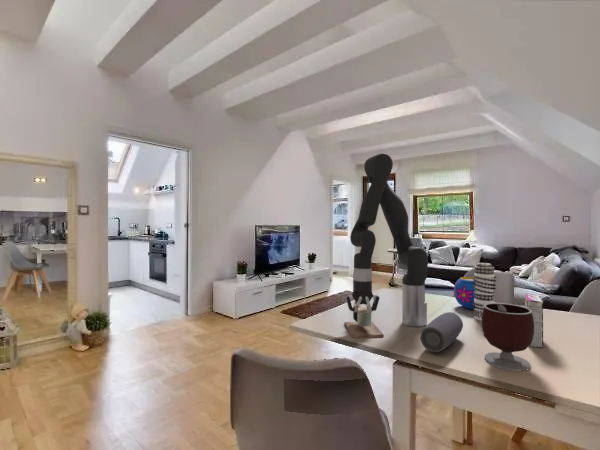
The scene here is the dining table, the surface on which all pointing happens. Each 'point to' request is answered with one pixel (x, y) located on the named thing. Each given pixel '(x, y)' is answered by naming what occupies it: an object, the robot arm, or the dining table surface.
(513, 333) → the mate gourd
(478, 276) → the decorative candle
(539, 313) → the candy bar box
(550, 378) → the dining table surface
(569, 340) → the dining table surface
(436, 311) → the dining table surface
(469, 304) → the ceramic pot
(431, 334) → the bluetooth speaker
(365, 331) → the walnut board
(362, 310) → the beech block
